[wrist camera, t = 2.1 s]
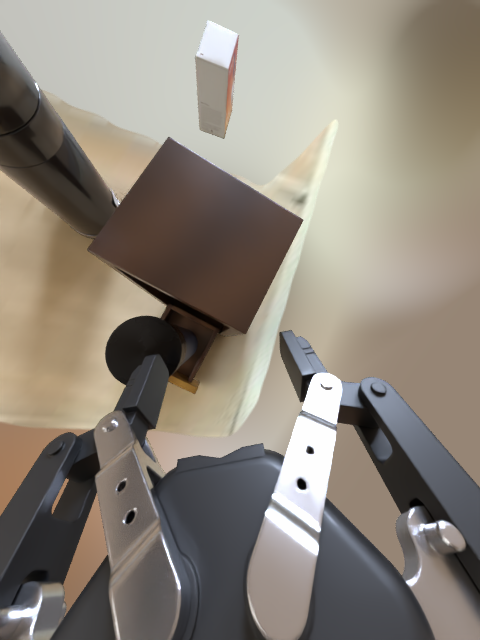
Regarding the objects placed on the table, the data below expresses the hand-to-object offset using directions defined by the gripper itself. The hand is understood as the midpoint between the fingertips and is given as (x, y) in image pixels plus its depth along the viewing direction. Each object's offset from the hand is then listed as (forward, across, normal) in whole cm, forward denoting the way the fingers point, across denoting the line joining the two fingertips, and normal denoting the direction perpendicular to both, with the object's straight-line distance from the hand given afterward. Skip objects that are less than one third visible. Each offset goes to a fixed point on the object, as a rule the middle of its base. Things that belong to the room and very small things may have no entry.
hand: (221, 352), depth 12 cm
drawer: (+17, +9, +12) cm, 23 cm away
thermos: (+16, +9, +12) cm, 22 cm away
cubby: (+24, +3, +7) cm, 25 cm away
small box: (+49, -4, -22) cm, 54 cm away
